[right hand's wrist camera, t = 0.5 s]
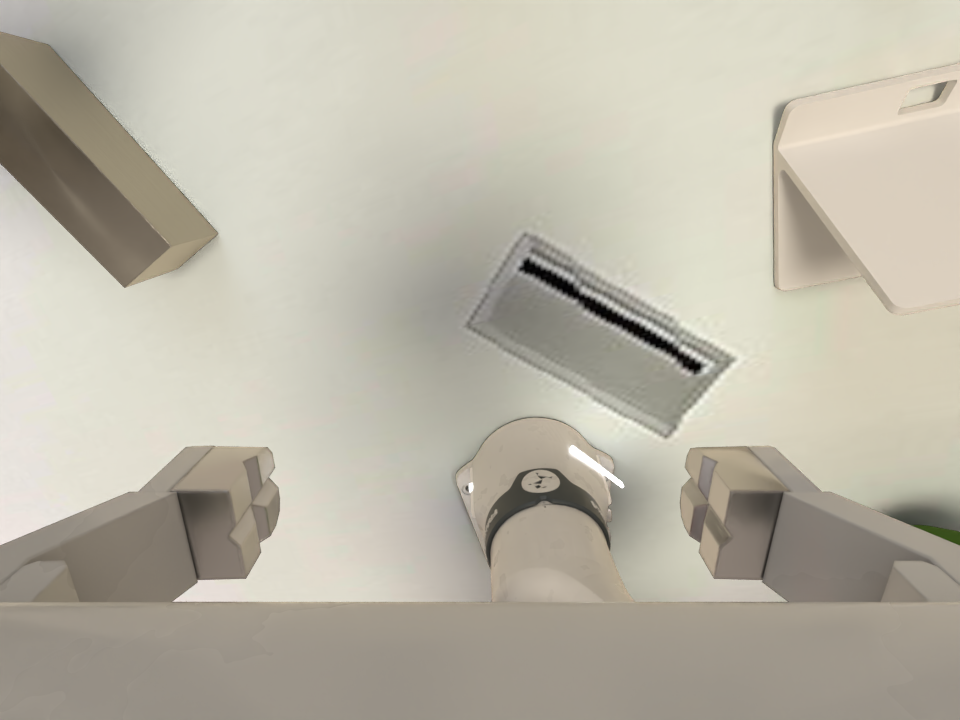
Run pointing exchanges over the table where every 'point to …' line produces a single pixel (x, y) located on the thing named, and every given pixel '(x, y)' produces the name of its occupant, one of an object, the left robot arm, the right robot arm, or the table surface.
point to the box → (90, 168)
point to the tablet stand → (872, 191)
